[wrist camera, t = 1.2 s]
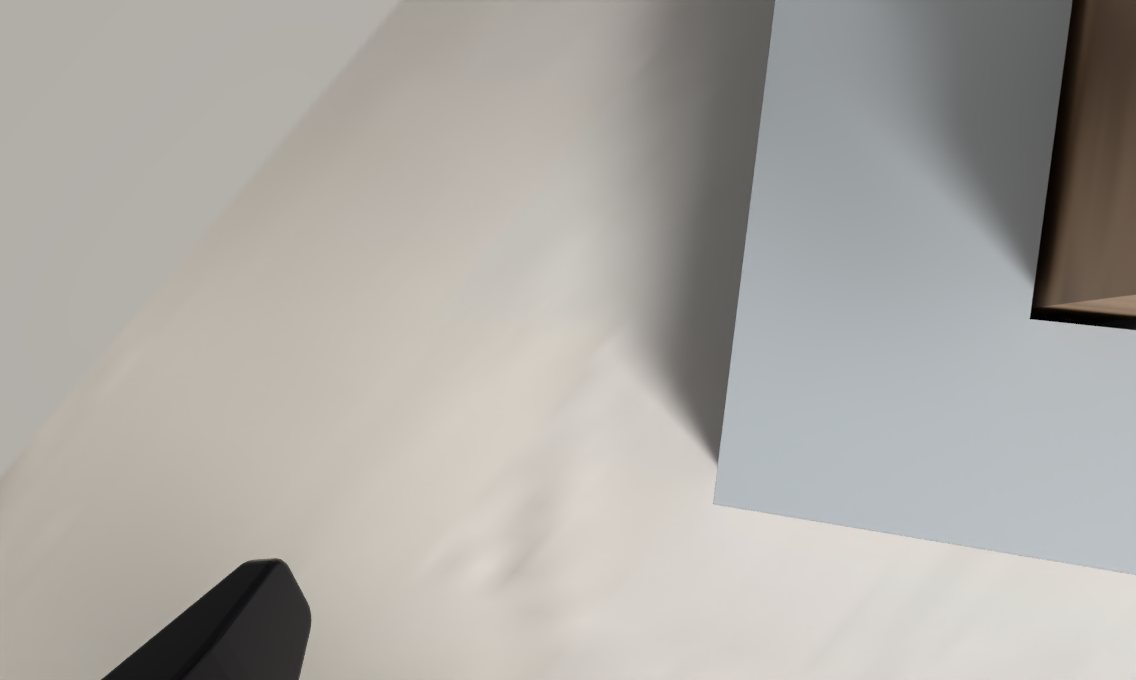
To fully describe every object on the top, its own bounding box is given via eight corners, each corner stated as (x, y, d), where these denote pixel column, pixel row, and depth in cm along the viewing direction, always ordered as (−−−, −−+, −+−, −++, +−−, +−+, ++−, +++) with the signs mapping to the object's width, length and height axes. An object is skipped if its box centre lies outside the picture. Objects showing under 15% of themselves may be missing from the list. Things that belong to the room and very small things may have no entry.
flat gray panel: (1356, 575, 19) (1509, 637, 15) (724, 475, 22) (713, 504, 18) (1477, -242, 18) (1668, -401, 14) (809, -216, 21) (817, -339, 18)
